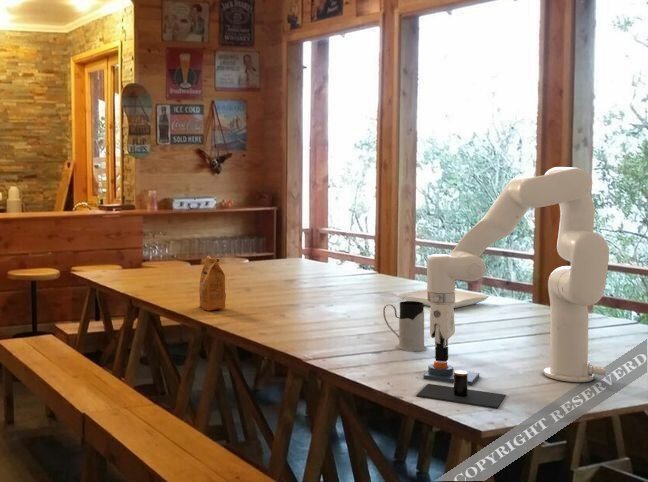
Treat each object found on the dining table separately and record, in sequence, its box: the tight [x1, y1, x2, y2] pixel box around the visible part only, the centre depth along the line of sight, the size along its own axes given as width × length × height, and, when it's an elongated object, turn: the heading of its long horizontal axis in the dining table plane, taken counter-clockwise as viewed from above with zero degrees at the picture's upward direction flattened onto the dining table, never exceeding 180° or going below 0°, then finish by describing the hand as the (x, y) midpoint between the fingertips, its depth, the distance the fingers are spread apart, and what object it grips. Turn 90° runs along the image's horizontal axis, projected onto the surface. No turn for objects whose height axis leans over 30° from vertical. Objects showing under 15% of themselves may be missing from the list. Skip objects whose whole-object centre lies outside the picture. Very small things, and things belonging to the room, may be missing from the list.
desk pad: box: [416, 383, 507, 410], centre depth 210 cm, size 20×12×1 cm, turn 56°
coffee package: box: [198, 255, 227, 312], centre depth 334 cm, size 10×12×22 cm
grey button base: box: [423, 363, 480, 387], centre depth 226 cm, size 13×10×3 cm
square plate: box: [396, 288, 490, 309], centre depth 336 cm, size 27×27×4 cm
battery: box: [453, 370, 469, 397], centre depth 210 cm, size 3×3×6 cm
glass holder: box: [382, 300, 427, 352], centre depth 263 cm, size 9×14×15 cm, turn 48°
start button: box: [433, 360, 448, 369], centre depth 228 cm, size 4×4×2 cm
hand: (441, 360), depth 228 cm, fingers closed
